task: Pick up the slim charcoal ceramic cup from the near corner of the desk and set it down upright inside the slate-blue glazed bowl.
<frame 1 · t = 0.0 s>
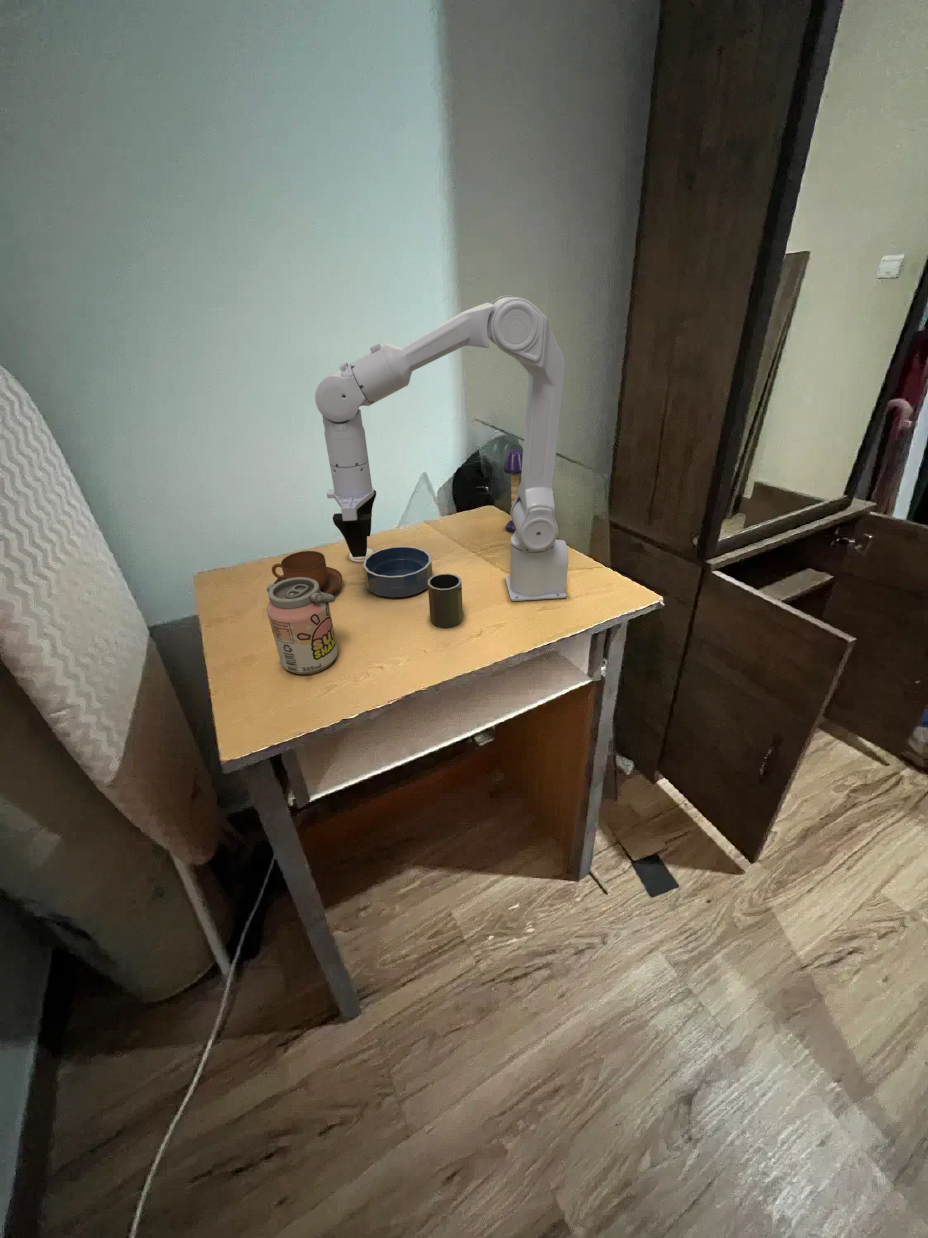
hand: (361, 545, 86), 10 cm above the table, tool pointing down, fingers open, 7 cm apart
toy lamp: (514, 529, 114), on the table
cup: (446, 619, 85), on the table
bowl: (399, 583, 95), on the table
chess piece: (362, 557, 105), on the table
beverage can: (313, 658, 77), on the table
cup and saucer: (310, 592, 94), on the table
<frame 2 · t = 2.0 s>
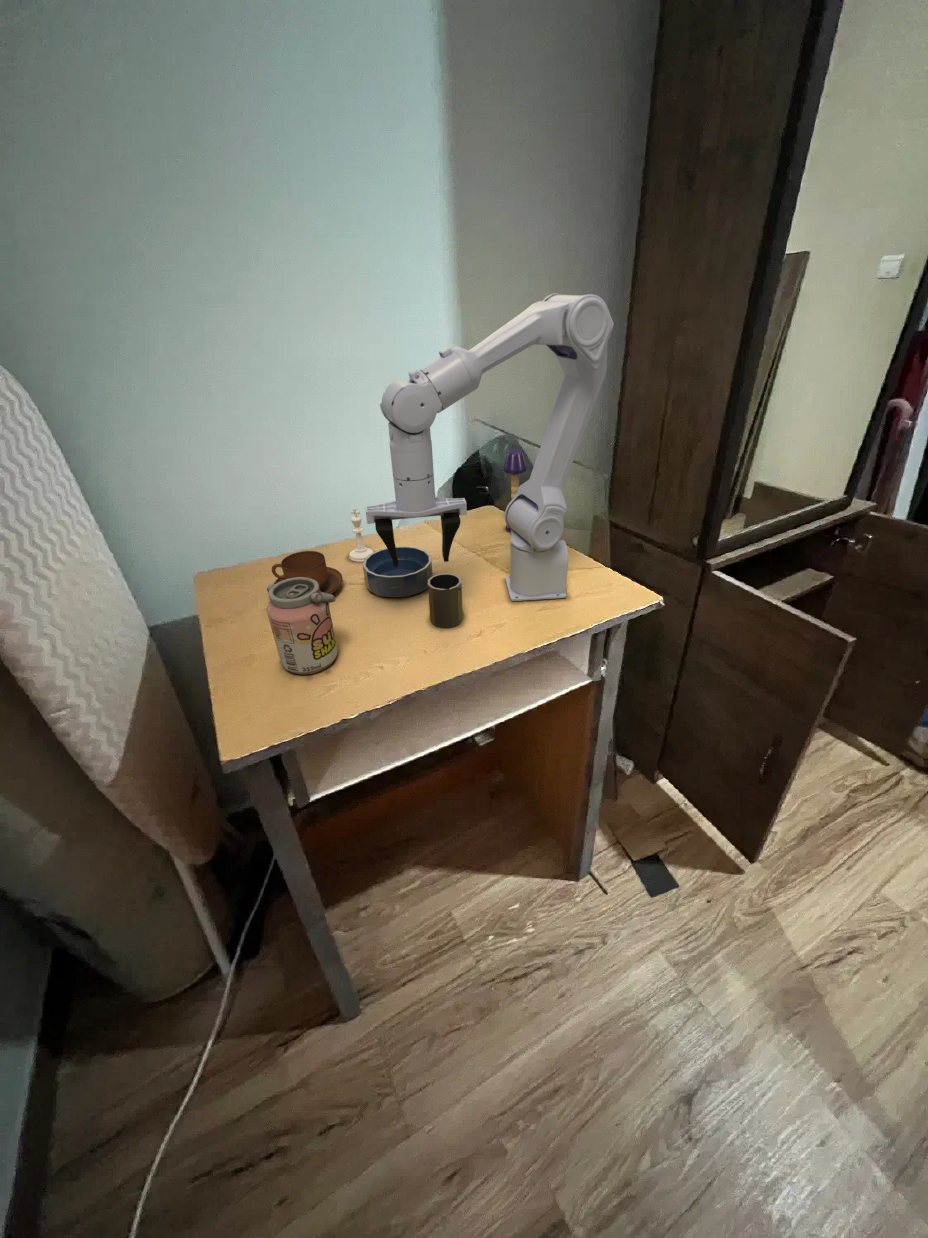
hand: (420, 561, 81), 10 cm above the table, tool pointing down, fingers open, 7 cm apart
nothing on the table moved.
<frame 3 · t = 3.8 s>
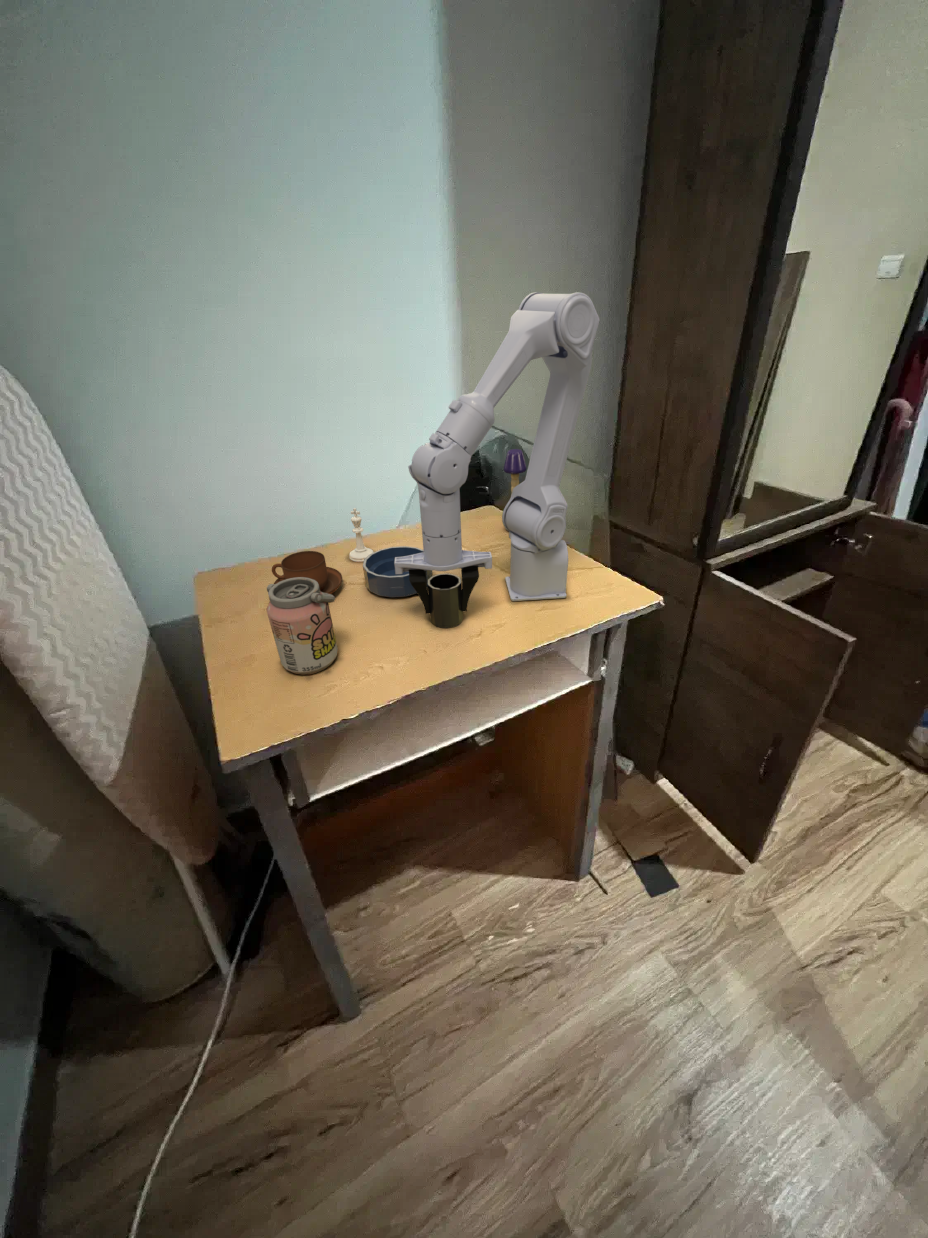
hand: (446, 609, 84), 2 cm above the table, tool pointing down, fingers closed on cup, 5 cm apart
cup: (446, 619, 85), on the table, touching gripper
everything else where it was.
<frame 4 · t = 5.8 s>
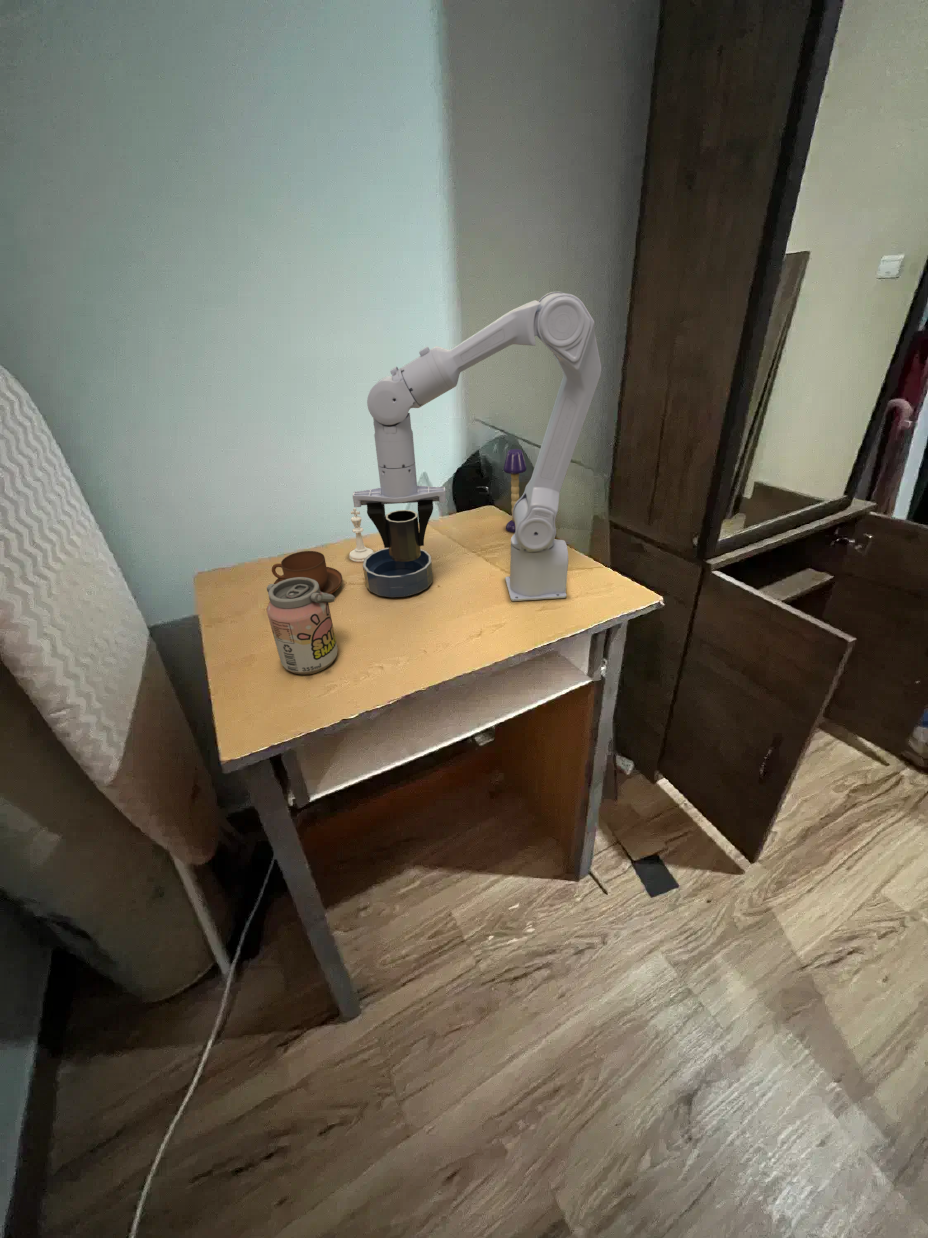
hand: (404, 544, 88), 9 cm above the table, tool pointing down, fingers closed on cup, 5 cm apart
cup: (405, 554, 89), point 7 cm above the table, touching gripper
everything else where it was.
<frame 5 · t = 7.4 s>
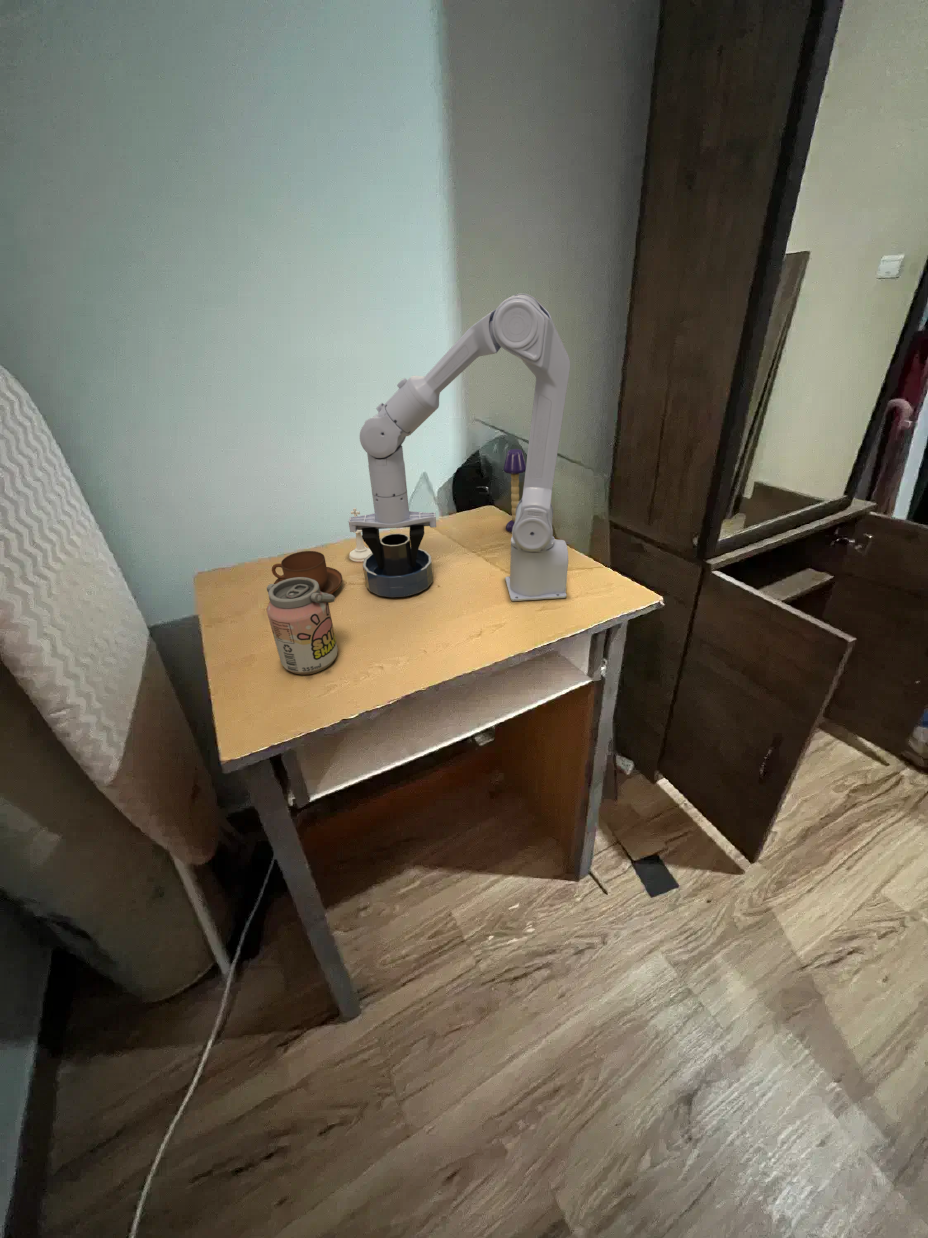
hand: (397, 565, 93), 4 cm above the table, tool pointing down, fingers closed on cup, 5 cm apart
cup: (398, 575, 94), point 2 cm above the table, touching gripper
everything else where it was.
when the fingers open (2 cm above the table, at t = 8.2 s): cup stays where it is, resting on bowl.
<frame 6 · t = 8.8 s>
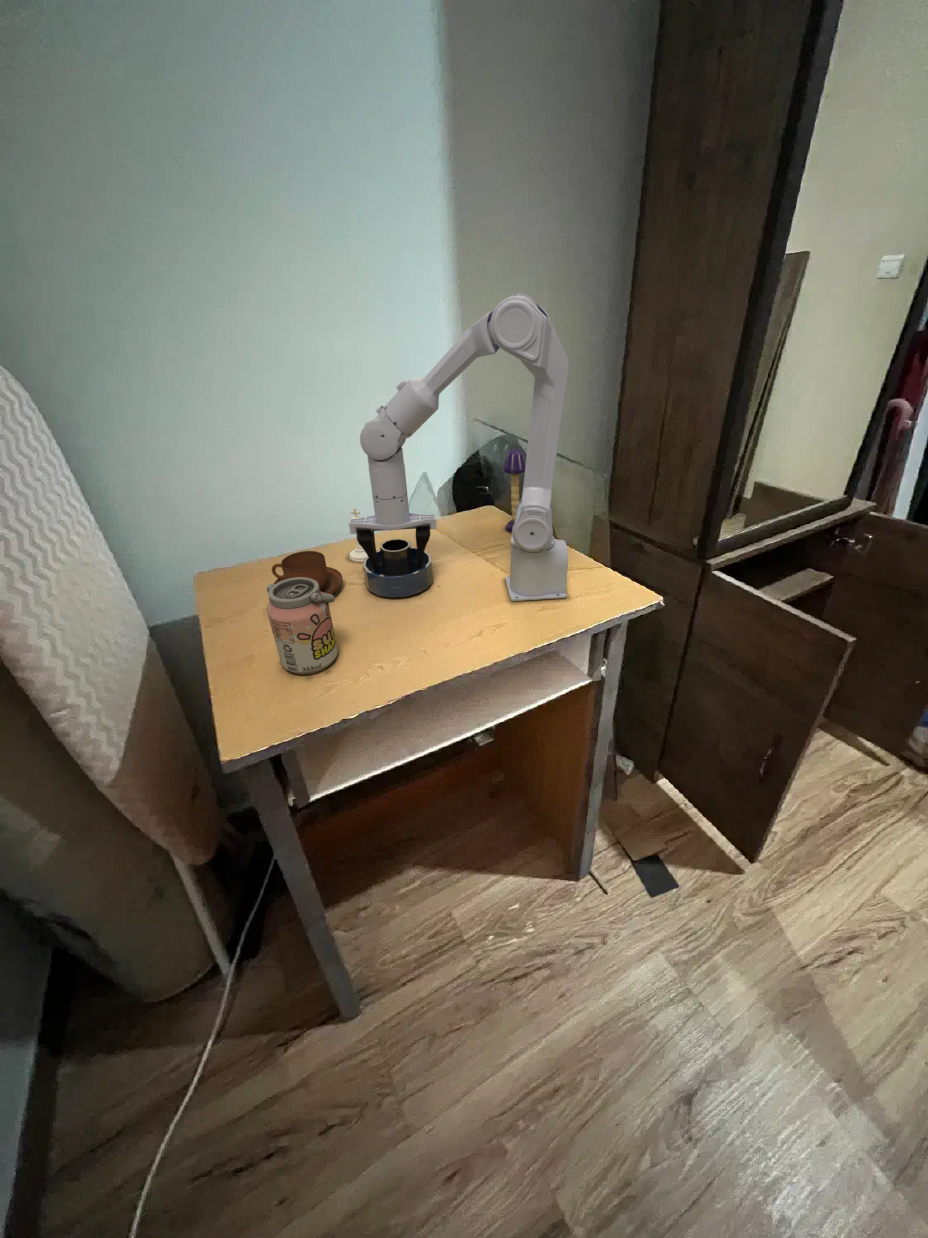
hand: (398, 567, 94), 3 cm above the table, tool pointing down, fingers open, 7 cm apart
cup: (399, 580, 95), point 1 cm above the table, touching bowl
everything else where it was.
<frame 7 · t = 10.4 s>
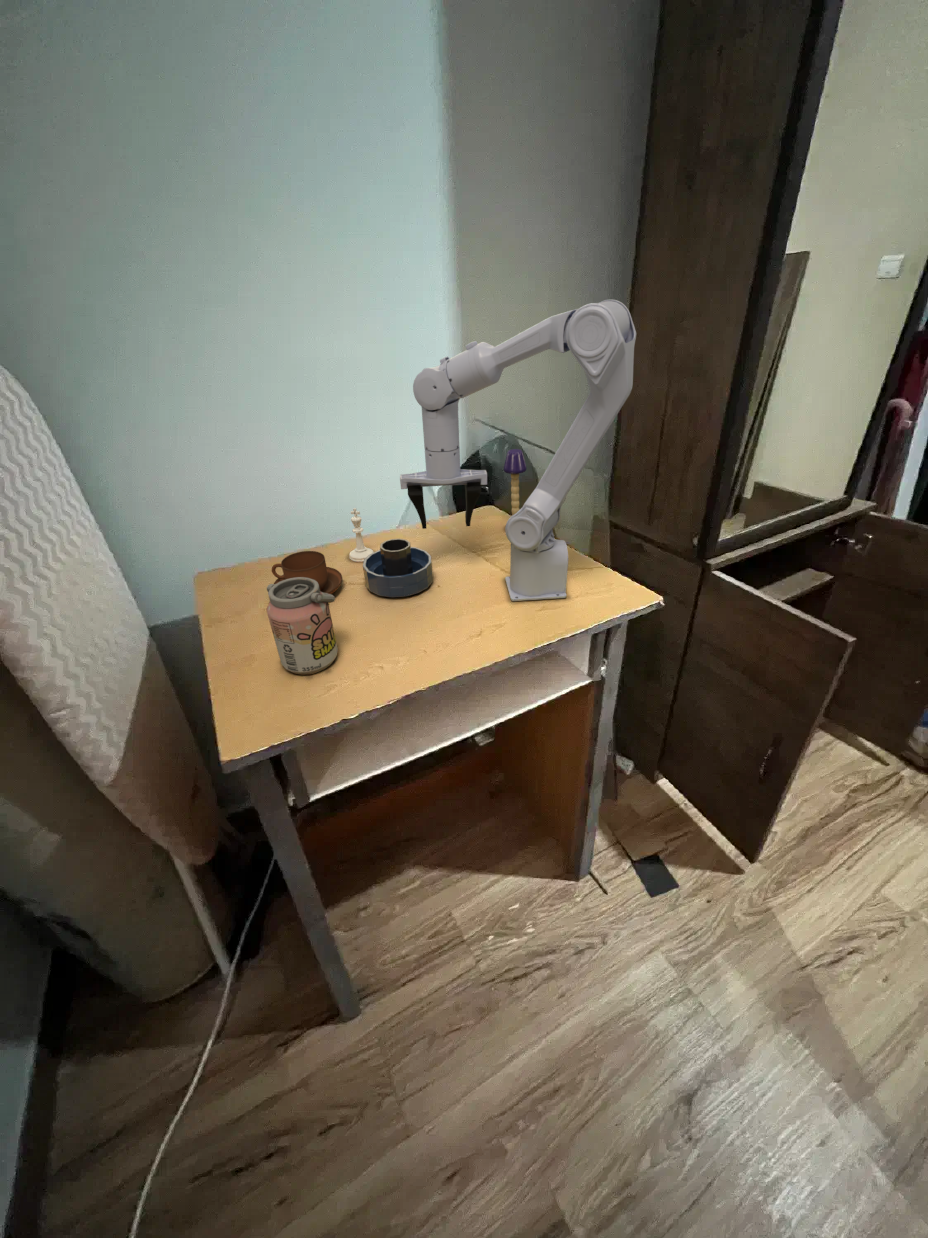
hand: (446, 525, 93), 9 cm above the table, tool pointing down, fingers open, 7 cm apart
nothing on the table moved.
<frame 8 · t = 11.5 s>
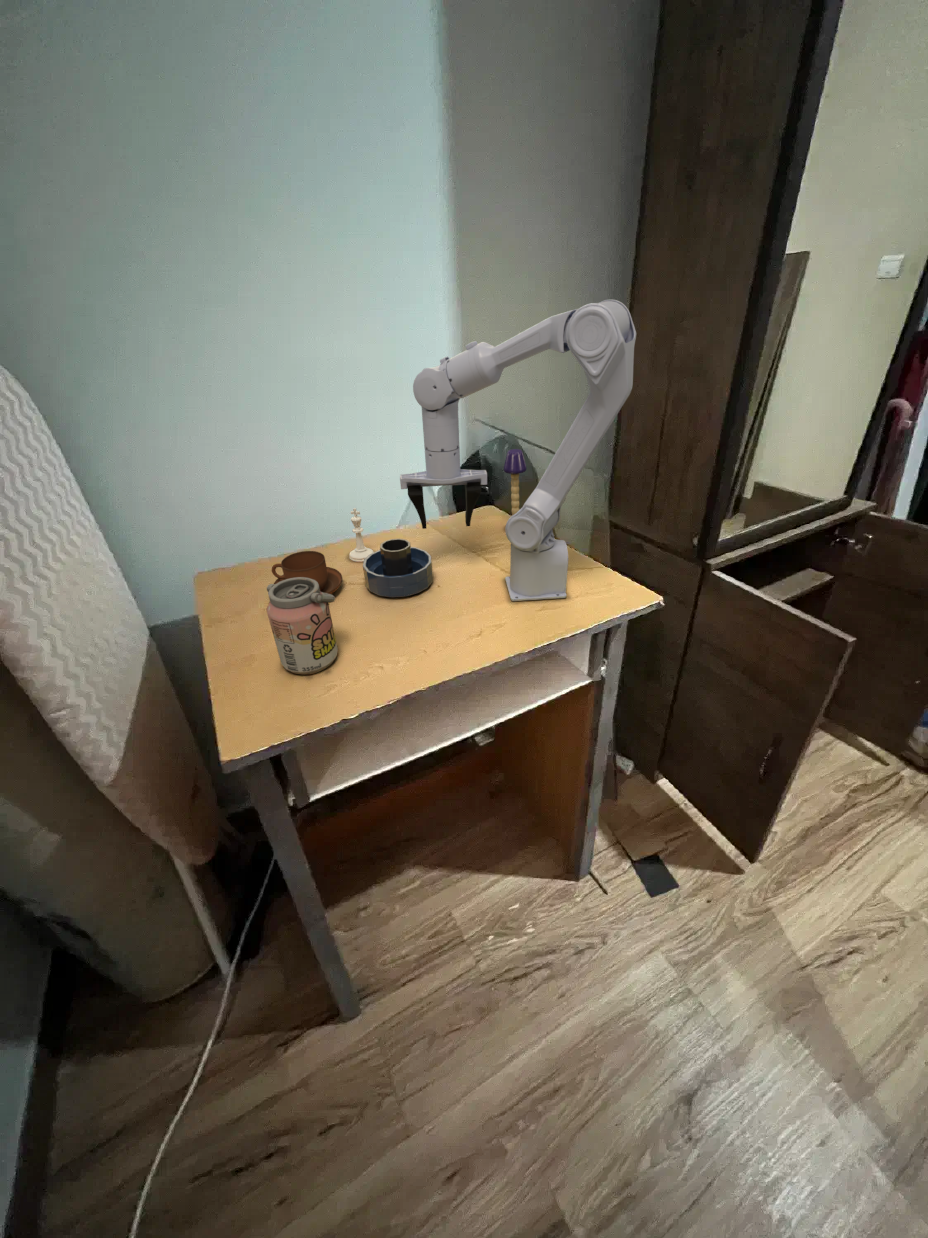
hand: (446, 525, 93), 9 cm above the table, tool pointing down, fingers open, 7 cm apart
nothing on the table moved.
at the end: cup 0.1 cm off-centre in the bowl, point 0.6 cm above the bowl's base; cup tilted 0°; the gripper is holding nothing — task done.
